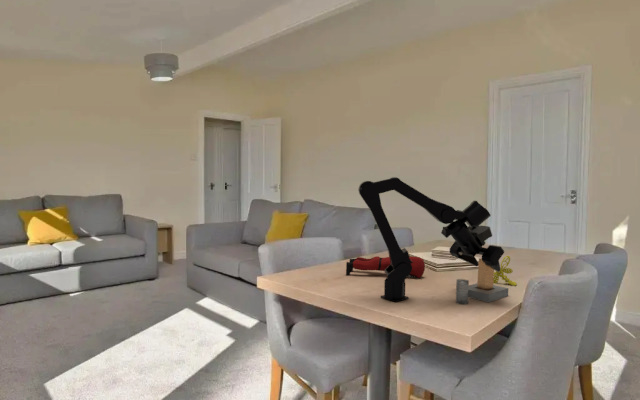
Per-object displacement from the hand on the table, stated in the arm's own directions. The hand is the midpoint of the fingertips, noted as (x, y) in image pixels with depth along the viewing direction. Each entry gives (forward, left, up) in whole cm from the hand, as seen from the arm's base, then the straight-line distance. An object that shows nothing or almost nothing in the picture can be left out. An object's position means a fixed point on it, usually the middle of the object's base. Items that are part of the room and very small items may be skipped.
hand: (488, 267), depth 142 cm
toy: (-5, +40, -10) cm, 42 cm away
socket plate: (-1, 0, -9) cm, 9 cm away
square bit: (-1, 0, -9) cm, 9 cm away
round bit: (-14, 0, -9) cm, 17 cm away
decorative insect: (+18, +6, -9) cm, 21 cm away
